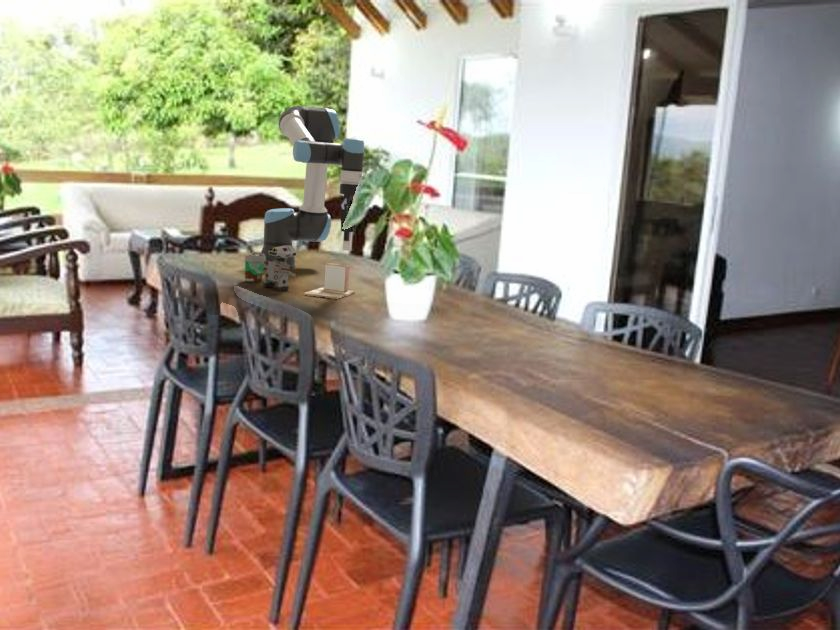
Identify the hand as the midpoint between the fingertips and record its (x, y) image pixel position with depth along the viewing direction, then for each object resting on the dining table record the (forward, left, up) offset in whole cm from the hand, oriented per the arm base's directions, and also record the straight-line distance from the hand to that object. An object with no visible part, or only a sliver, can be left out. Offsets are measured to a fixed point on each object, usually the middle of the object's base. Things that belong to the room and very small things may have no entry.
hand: (347, 249), depth 299 cm
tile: (+7, 0, -14) cm, 15 cm away
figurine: (+14, -18, -15) cm, 27 cm away
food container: (+8, -31, -15) cm, 35 cm away
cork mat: (+12, 0, -14) cm, 19 cm away
